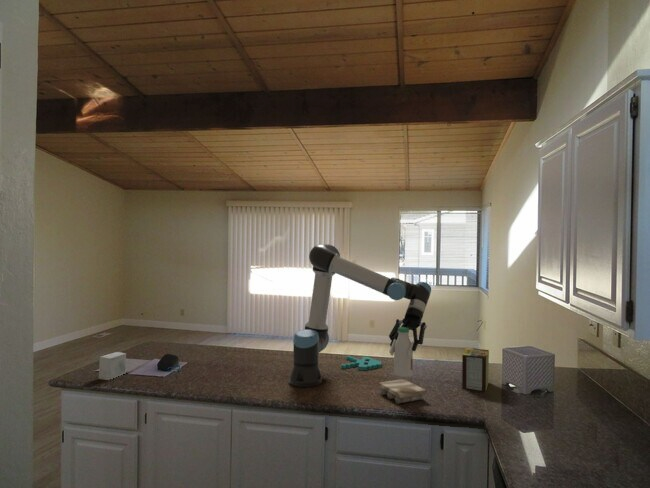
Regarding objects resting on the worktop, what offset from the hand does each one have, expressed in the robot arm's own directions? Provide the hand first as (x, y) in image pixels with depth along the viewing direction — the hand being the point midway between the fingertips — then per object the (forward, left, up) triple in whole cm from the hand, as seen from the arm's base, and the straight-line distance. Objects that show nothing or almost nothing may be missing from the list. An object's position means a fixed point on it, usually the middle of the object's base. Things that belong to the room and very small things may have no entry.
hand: (400, 355), depth 179 cm
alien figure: (-51, +13, -19) cm, 56 cm away
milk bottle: (-2, +3, -9) cm, 10 cm away
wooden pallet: (-2, +3, -18) cm, 19 cm away
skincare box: (-80, -108, -19) cm, 136 cm away
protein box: (-1, +44, -19) cm, 48 cm away
